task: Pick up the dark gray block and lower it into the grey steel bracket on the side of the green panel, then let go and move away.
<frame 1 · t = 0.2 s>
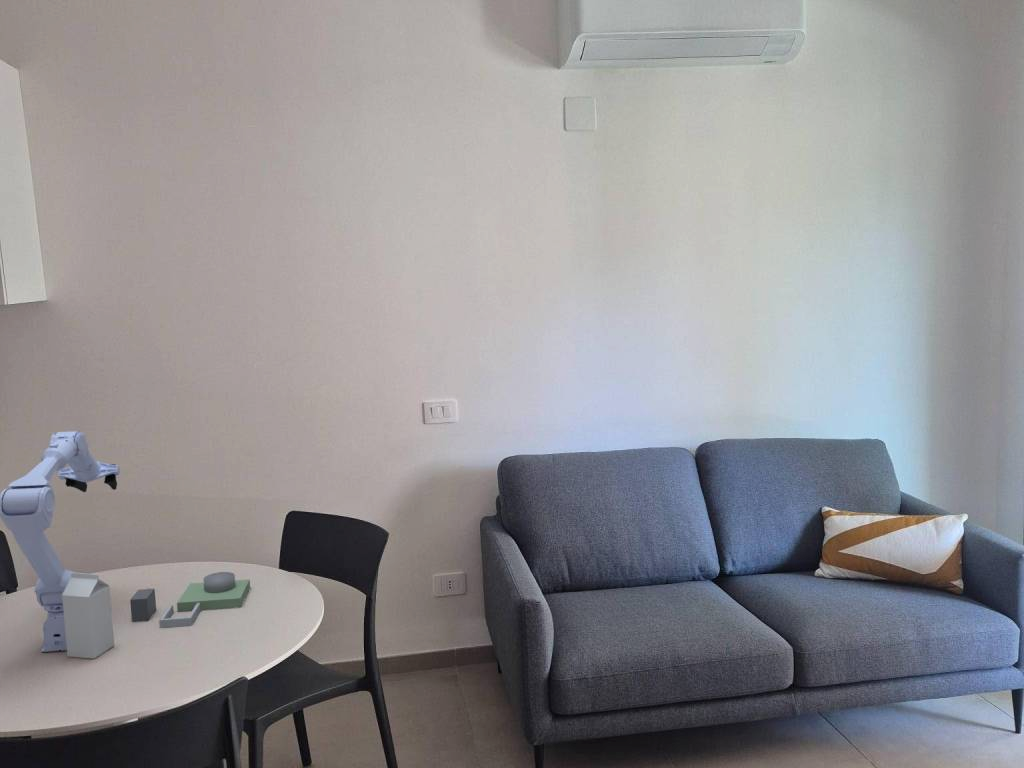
hand: (100, 487, 228), 31 cm above the table, tool tilted 45°, fingers open, 7 cm apart
dark gray block: (144, 616, 219), on the table
milk carton: (91, 652, 198), on the table
green panel: (214, 600, 228), on the table
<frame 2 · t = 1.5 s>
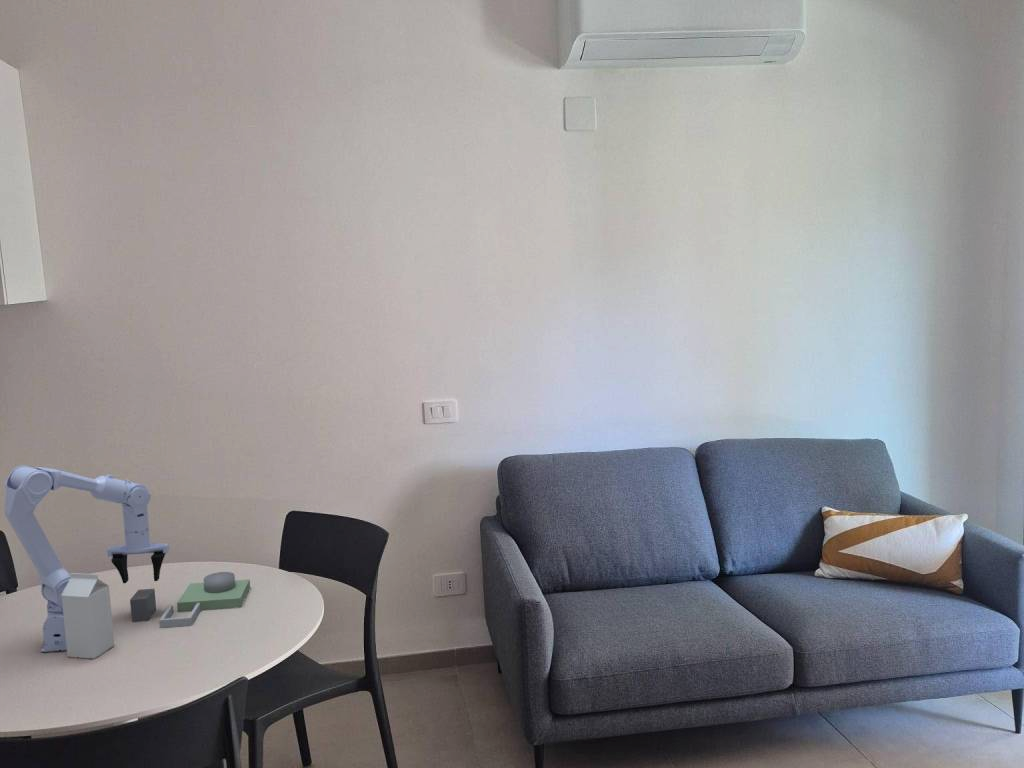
hand: (141, 580, 218), 9 cm above the table, tool pointing down, fingers open, 7 cm apart
nothing on the table moved.
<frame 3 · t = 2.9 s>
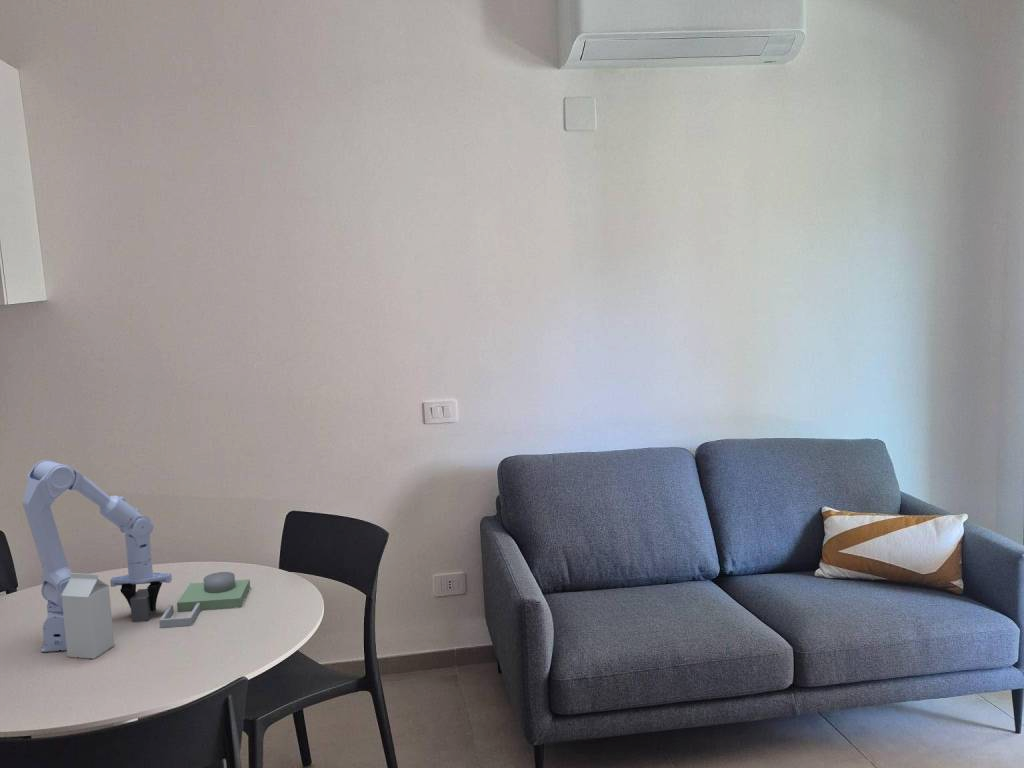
hand: (143, 610, 219), 1 cm above the table, tool pointing down, fingers closed on dark gray block, 4 cm apart
dark gray block: (144, 615, 219), on the table, touching gripper
everything else where it was.
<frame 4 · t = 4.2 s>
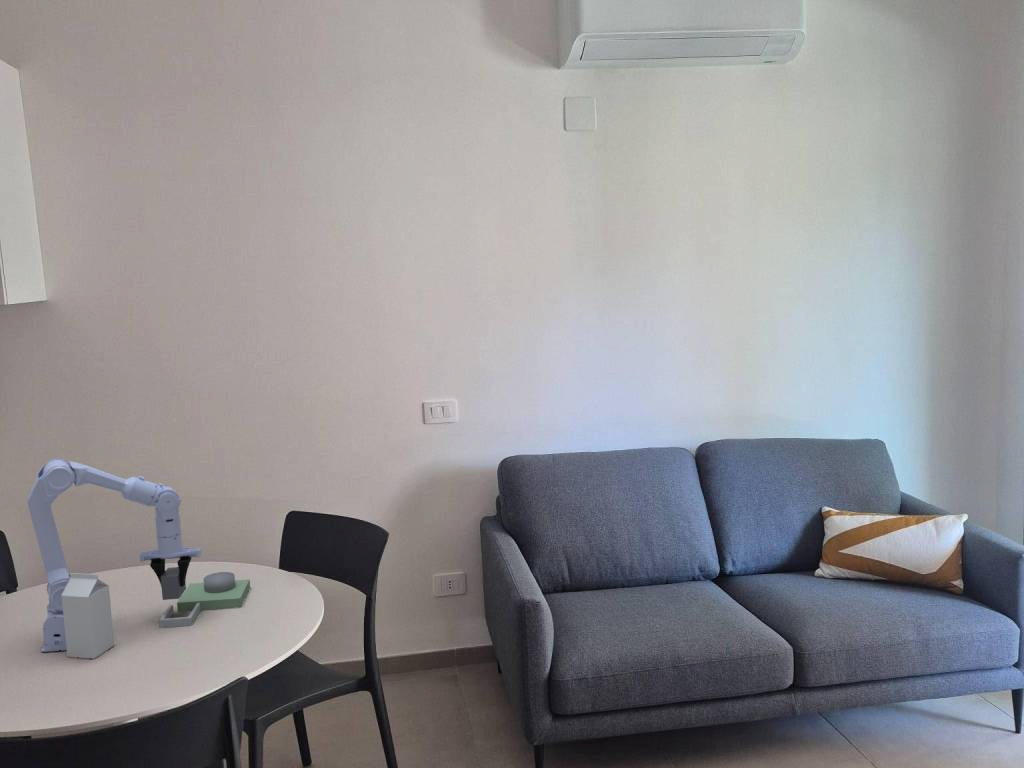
hand: (173, 585, 216), 9 cm above the table, tool pointing down, fingers closed on dark gray block, 4 cm apart
dark gray block: (174, 594, 216), point 6 cm above the table, touching gripper
everything else where it was.
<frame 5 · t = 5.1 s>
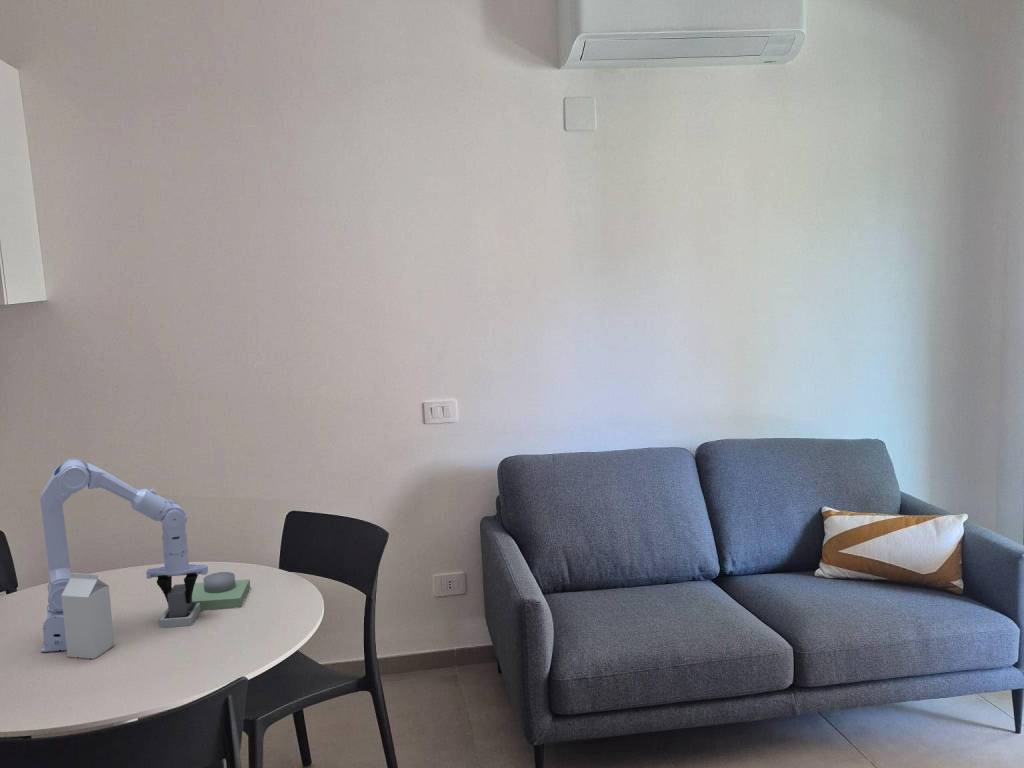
hand: (179, 602, 216), 4 cm above the table, tool pointing down, fingers closed on dark gray block, 4 cm apart
dark gray block: (181, 611, 217), point 2 cm above the table, touching gripper
everything else where it was.
when the fingers open (3 cm above the table, at t = 5.8 s): dark gray block stays where it is, resting in green panel.
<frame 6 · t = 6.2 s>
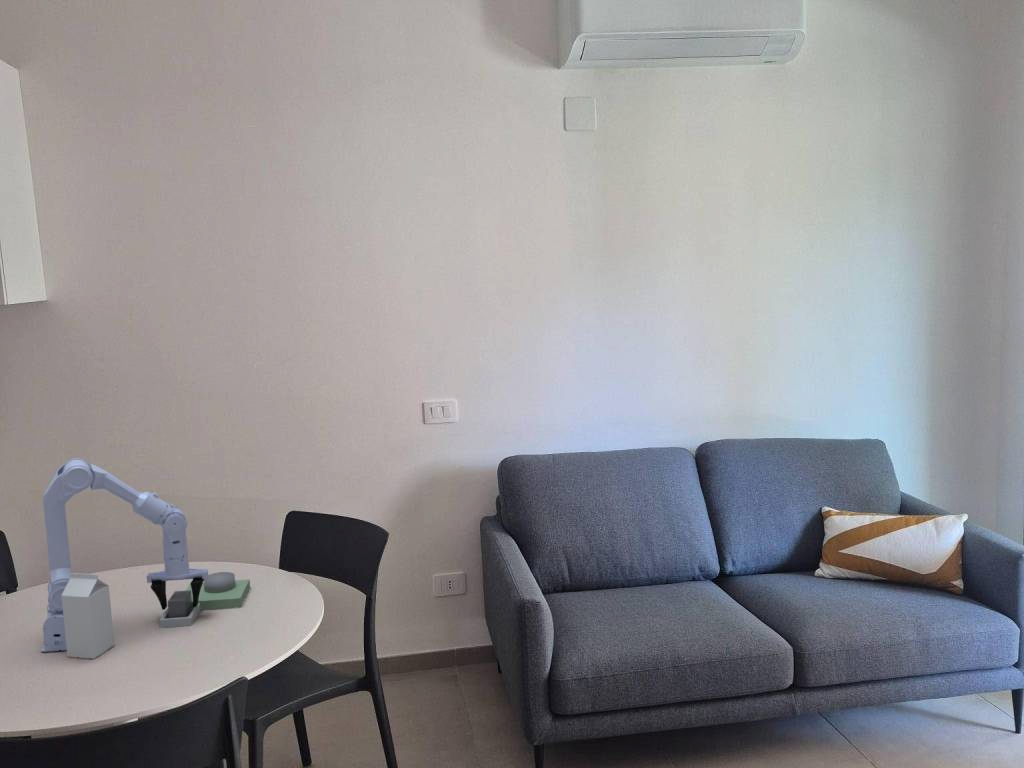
hand: (180, 607, 216), 3 cm above the table, tool pointing down, fingers open, 7 cm apart
dark gray block: (181, 618, 217), resting in green panel
everything else where it was.
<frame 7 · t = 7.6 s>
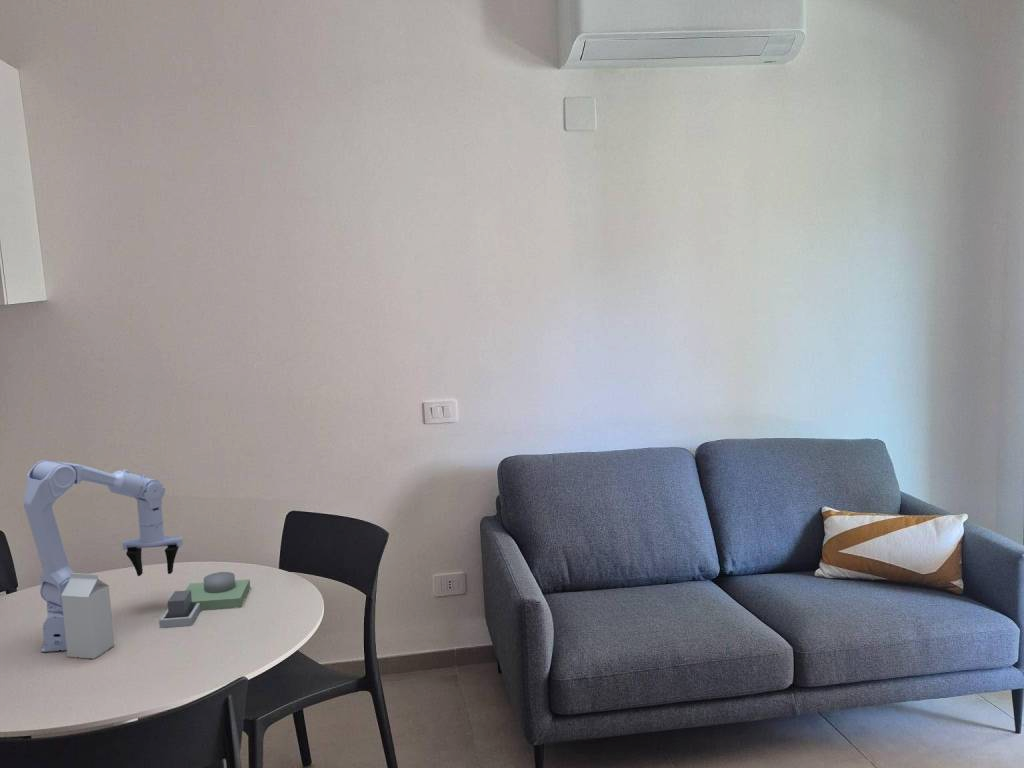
hand: (155, 573, 223), 9 cm above the table, tool pointing down, fingers open, 7 cm apart
nothing on the table moved.
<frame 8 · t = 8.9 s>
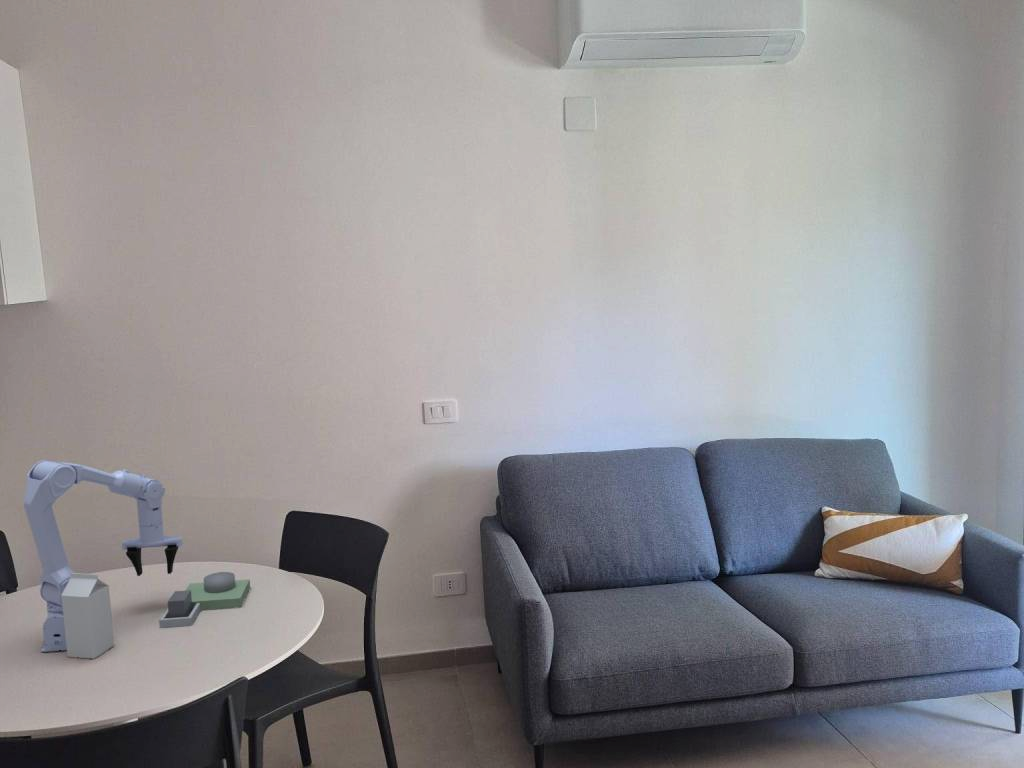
hand: (155, 573, 223), 9 cm above the table, tool pointing down, fingers open, 7 cm apart
nothing on the table moved.
at the end: dark gray block 0.3 cm from the target spot on the green panel, point 0.0 cm above the green panel's base; dark gray block tilted 0°; the gripper is holding nothing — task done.
